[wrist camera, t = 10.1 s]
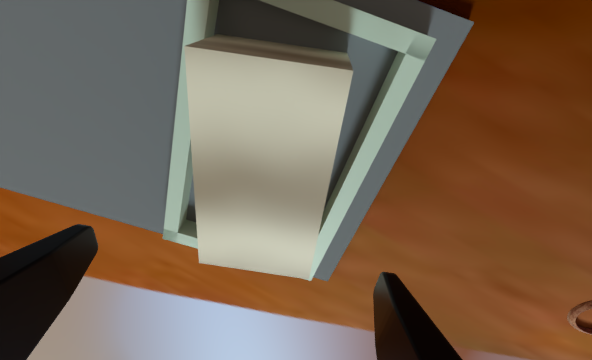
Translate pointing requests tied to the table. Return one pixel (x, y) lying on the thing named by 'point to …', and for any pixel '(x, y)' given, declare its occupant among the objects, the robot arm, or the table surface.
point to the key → (576, 311)
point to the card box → (263, 148)
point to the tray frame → (406, 66)
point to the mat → (172, 97)
